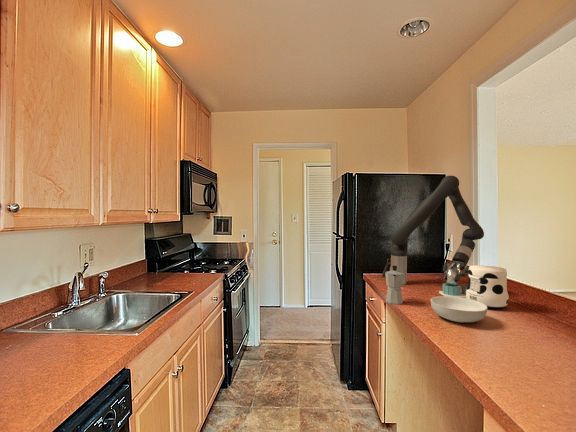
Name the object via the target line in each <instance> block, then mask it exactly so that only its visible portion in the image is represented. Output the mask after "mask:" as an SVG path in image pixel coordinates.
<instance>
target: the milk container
mask: <svg viewBox="0 0 576 432" xmlns="http://www.w3.org/2000/svg"><path fill="white" fill-rule="evenodd" d="M507 273H508V271H507V269H506V268H503V267H500V266H499V267H498V266H492V265H482V264H481V265H478V264H475V265H469V272H468V274H467V275H468V276H467V278H468V283H467V284H468V287H467V290H466V298H467V299H471V300H474V301H478V302H480V303H483V304H484V305H486V306H487V308H488V309H504V308H506V307H507V306H508V304H509V300H510V297H509V292H508V288H507V282H508V278H507V277H508V274H507Z"/></svg>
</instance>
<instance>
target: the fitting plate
mask: <svg viewBox="0 0 576 432" xmlns="http://www.w3.org/2000/svg"><path fill="white" fill-rule="evenodd" d="M467 287H468V283H462V284H461V285H460V284H457V287H452V286H447V282H446V283H442V290H438V294H440V295H441V296H452V297H461V298H466V290H467ZM466 299H467V298H466Z"/></svg>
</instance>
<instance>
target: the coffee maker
mask: <svg viewBox="0 0 576 432" xmlns="http://www.w3.org/2000/svg"><path fill="white" fill-rule="evenodd" d="M392 268H393V270H392V271H390V270H389V271H388V270H387V271H386V272H385V275H386V277H385V284H386V286H387V288H386V289H387V290H386V295H385V303H386V304H388V305H397V306H398V305H403V304H404V302H403V295H402V287H403V285H402V284H403V277H404V273H402V272H399V271H397V266H392Z"/></svg>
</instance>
